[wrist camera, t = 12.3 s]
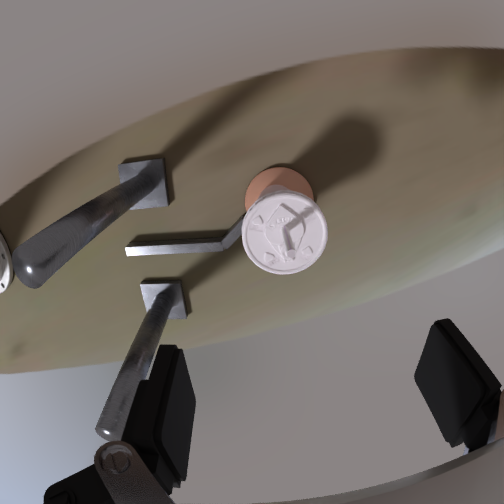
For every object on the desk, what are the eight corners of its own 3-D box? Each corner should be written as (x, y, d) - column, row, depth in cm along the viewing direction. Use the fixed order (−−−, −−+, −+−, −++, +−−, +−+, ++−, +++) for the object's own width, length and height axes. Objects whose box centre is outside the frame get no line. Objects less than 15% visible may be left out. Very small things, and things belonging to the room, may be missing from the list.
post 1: (127, 208, 32) (14, 307, 14) (120, 163, 30) (-13, 226, 12) (169, 204, 32) (77, 311, 13) (164, 157, 30) (48, 216, 11)
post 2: (150, 315, 38) (95, 445, 19) (142, 281, 36) (69, 410, 17) (187, 315, 37) (149, 455, 19) (181, 280, 35) (127, 420, 17)
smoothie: (303, 166, 30) (340, 202, 17) (310, 227, 32) (346, 298, 19) (239, 177, 30) (228, 220, 17) (250, 236, 33) (248, 314, 20)
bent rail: (131, 250, 34) (126, 255, 33) (125, 223, 33) (121, 227, 31) (251, 244, 34) (251, 249, 32) (249, 214, 32) (249, 218, 31)
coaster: (247, 233, 33) (247, 235, 33) (243, 168, 30) (243, 169, 30) (312, 230, 33) (313, 232, 32) (312, 166, 30) (313, 166, 30)
